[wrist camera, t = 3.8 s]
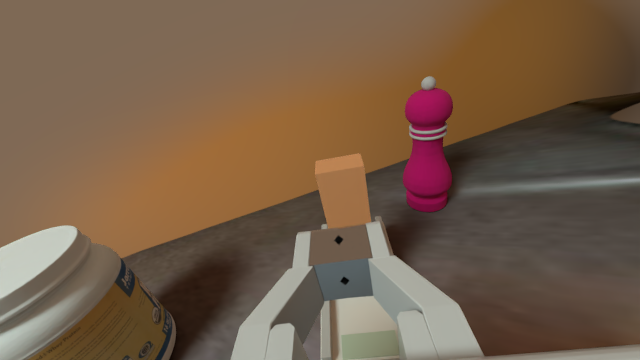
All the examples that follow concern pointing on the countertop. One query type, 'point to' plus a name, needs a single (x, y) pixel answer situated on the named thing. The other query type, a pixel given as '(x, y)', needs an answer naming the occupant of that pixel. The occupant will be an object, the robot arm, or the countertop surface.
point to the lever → (343, 190)
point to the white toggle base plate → (358, 327)
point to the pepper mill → (428, 148)
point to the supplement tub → (76, 303)
